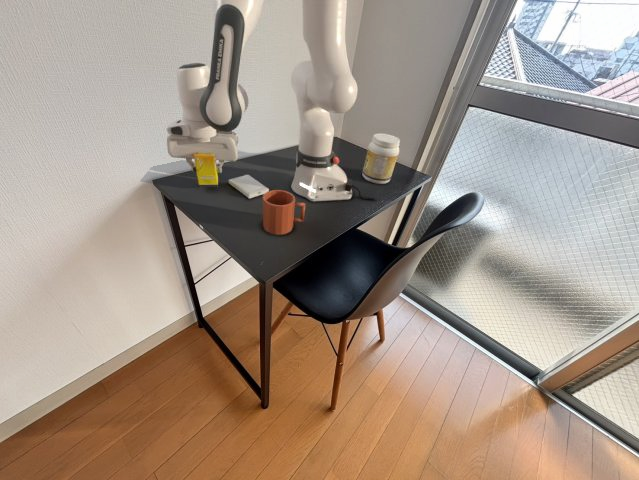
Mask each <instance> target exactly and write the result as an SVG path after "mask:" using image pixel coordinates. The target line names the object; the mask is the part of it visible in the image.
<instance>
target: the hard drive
mask: <svg viewBox="0 0 639 480" xmlns="http://www.w3.org/2000/svg"><path fill="white" fill-rule="evenodd" d="M228 184H229V185H230V186H232V187H233V188H235V189H236V190H237V191H238V192H240V193H241V194H242V195H244V196H245V197H247V198H248V199H252V198H255V197H259V196H261V195H262V196H263V195H264V194H265V193H266V192H269V191H270V189H269V188H268V187H267V186H266V185H264V184H262V183H261V182H260V181H259V180H257V179H256V178H254V177H252V176H251V175H250V174H244V175H241V176H238V177H237V176H236V177H233V178H230V179H228Z"/></svg>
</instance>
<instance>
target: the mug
mask: <svg viewBox="0 0 639 480" xmlns="http://www.w3.org/2000/svg"><path fill="white" fill-rule="evenodd" d="M296 207H301V211H300V217H295V208H296ZM305 214H306V203H305V202H296V196H295V195H294V194H293V193H291V192H289V191H287V190H282V189H272V190H269V192H266V193H265V194H262V227H263V229H264V231H266V232H267V233H269V234H272V235H276V236H280V235H282V236H283V235H287V234H289V233H290V232H291V231H292V230H293V229H294V222H297V223H298V222H301V223H302V222H304V221H305Z"/></svg>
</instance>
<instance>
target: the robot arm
mask: <svg viewBox="0 0 639 480" xmlns="http://www.w3.org/2000/svg"><path fill="white" fill-rule="evenodd" d="M264 1H265V0H213V2H214V3H213V5H214V8H213V9H214V12H213V13H214V15H213V17H214V19H213V20H214V22H213V23H214V25H213V30H214V31H213V39H212V40H213V41H212V49H211V61H210V67H209V66H208V65H207V64H205V63H200V62H195V63H194V62H193V63H188V64H187V63H185V64H183V65H181V66H180V67H178V69H177V71H176V84H177V85H176V86H177V93H178V98H179V102H180V104H181V107H182V118H181V119H176V120H173V121H171V122H170V123H169V125H167V127H166V132H167V134H168V135H167V137H166V148H167V153H168V155H169V156H170V157H171V158H177V159H185V162H186V163H187V164H188V165H189V166H190V168H191V172H197V171H196V166H195V162H194V161H193V160H194V153H204V154H214V158H215V160H216V161H218V163H219V165H216V166H217V167H216V170H217V174H222V173H223V168H222V167H223V166H224V164H225V162H236V161H237V160H238V159H239V149H238V144H239V137H238V134H237V133H236V132H234V130H236V129H237V128H238V126H239V125H240V123H241V121H242V118H243V116H244V114H245V113H246V112H247V109H248V107H249V96H248V94H247V92H246V89H244V87H243V86H242V85H241V84H239V77H240V70H241V61H242V55H243V51H244V49H245V46H246V43H247V41H248V39H249V37H250V36H251V34H252V32H253V31H254V30H255V29H256V27H257V26H258V23H259V20H260V17H261V14H262V10H263V7H264ZM347 5H348V0H302V36H303V37H302V38H303V40H304V42H305V44H306V46H307V49H308V52H309V57H310V60H303V61H301V62H298V63H297V64H296V65H295V66H294V68H293V69H292V71H291V76H290V83H291V87H292V89H293V91H294V94H295V98H296V104H297V111H298V118H299V119H298V120H299V138H298V147H297V148H296V154H295V155H296V156H295V165H296V166H295V172H294V176H293V179H292V182H291V185H290V188H291V190H292V191H293V192H294V193H295V194H296V195H299V196H301V197H303V198H305V199H307V200H309V201H310V202H327V201H344V200H351V198H352V197H353V189H352V188H354V189H356V190H357V191H358V195H359V197H360V198H361V199H362V200H367V201H369V200H370V201H374V200H375V197H367V196H366V197H365V196H363V195H362V191H361V189H360V188H359V187H358V186H356V185H354V184H353V181H354V179H352V178H348V177H347V174H346V172H345V171H344V170H343V169H342V168H341V167H340V166H339V163H340V159H339V157H338V156H337V154H336V153H334V151H333V150H332V149H333V143H334V136H335V127H334V124H333V121H332V118H331V115H330V113H332V114H345V113H347V112H348V111H349V110H351V109H352V108H353V106H354V105H355V103H356V100H357V98H358V90H359V89H358V84H357V81H356V79H355V78H354V76H353V74H352V70H351V68H350V67H351V66H350V64H349V58H348V52H347V44H346V27H347V9H348V6H347Z"/></svg>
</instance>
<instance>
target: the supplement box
mask: <svg viewBox="0 0 639 480" xmlns="http://www.w3.org/2000/svg"><path fill="white" fill-rule="evenodd" d="M193 160H194V164H195V166H196V171H195V172H196V176H197V182H198V187H199V188H214V187H219V176H218V174H219V173H217V170H216V167H217V166H218V165H217V160H215V158H214V154H204V153H194V159H193Z"/></svg>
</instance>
